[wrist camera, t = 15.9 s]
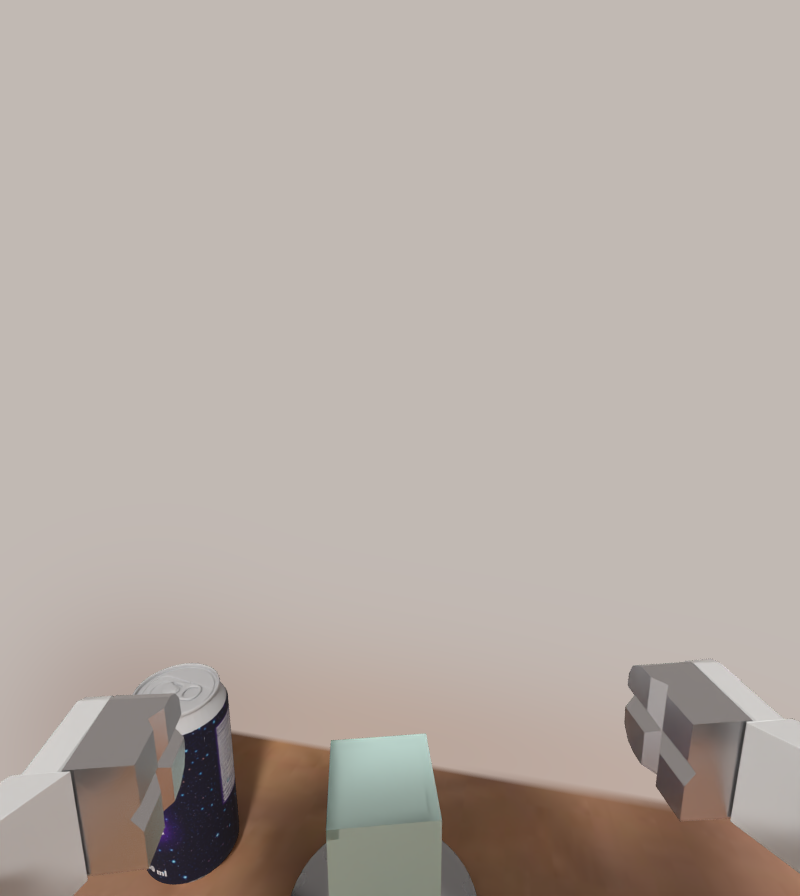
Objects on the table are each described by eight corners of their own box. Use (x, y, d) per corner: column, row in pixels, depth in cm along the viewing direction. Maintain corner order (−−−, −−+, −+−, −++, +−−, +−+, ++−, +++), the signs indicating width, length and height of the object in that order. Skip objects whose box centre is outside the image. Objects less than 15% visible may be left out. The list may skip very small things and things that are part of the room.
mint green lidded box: (425, 856, 32) (426, 733, 30) (439, 961, 27) (442, 820, 25) (335, 864, 32) (330, 740, 30) (332, 973, 26) (326, 830, 24)
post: (458, 820, 35) (460, 726, 34) (504, 1030, 25) (511, 907, 23) (296, 833, 34) (291, 738, 33) (271, 1059, 24) (260, 933, 22)
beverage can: (182, 803, 37) (165, 654, 34) (255, 819, 35) (243, 665, 33) (125, 884, 31) (99, 714, 29) (208, 906, 30) (189, 730, 27)
